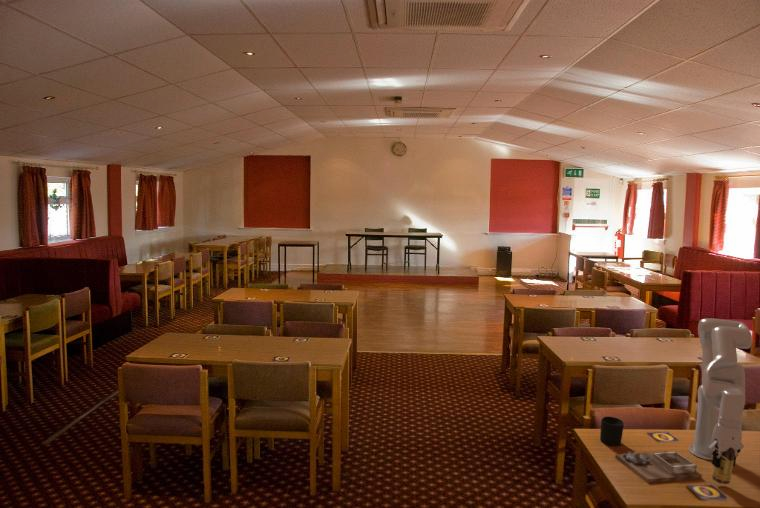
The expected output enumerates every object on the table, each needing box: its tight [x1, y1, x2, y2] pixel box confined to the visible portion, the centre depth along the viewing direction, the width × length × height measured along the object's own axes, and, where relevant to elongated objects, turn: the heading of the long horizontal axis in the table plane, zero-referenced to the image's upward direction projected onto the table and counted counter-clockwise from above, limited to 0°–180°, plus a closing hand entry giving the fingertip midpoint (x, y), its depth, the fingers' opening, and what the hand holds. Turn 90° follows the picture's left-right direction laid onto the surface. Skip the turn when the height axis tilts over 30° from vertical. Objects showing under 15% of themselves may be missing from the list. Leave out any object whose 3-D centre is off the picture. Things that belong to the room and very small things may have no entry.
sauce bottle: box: [711, 437, 735, 485], centre depth 216 cm, size 7×6×20 cm
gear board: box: [614, 450, 703, 484], centre depth 229 cm, size 25×20×5 cm
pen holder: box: [599, 416, 625, 447], centre depth 251 cm, size 9×9×10 cm
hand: (723, 465), depth 216 cm, fingers closed on sauce bottle, 6 cm apart
